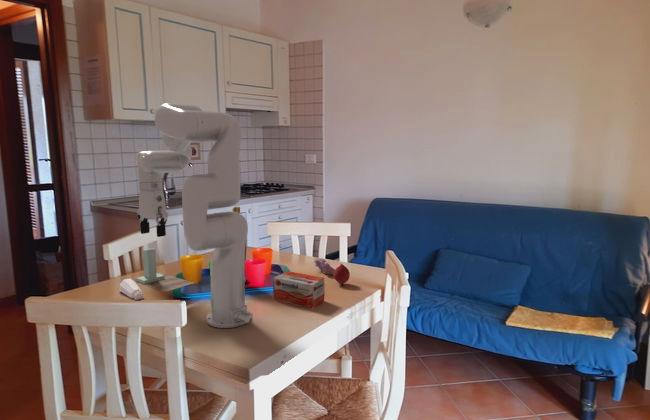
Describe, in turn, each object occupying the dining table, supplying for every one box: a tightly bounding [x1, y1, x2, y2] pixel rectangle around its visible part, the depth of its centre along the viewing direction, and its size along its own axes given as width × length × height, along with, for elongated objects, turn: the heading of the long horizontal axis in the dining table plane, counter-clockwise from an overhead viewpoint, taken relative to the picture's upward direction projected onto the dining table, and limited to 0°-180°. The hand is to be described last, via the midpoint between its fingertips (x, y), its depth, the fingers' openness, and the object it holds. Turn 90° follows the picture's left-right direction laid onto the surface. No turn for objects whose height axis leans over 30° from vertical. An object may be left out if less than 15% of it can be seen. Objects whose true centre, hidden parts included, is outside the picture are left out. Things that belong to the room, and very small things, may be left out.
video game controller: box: [314, 257, 336, 276], centre depth 176 cm, size 10×5×7 cm, turn 26°
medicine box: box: [272, 270, 326, 309], centre depth 146 cm, size 15×8×8 cm, turn 61°
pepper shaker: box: [118, 278, 144, 301], centre depth 146 cm, size 5×5×11 cm
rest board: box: [132, 272, 194, 293], centre depth 160 cm, size 20×12×1 cm, turn 54°
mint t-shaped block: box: [135, 247, 165, 285], centre depth 160 cm, size 5×8×11 cm, turn 143°
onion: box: [333, 263, 351, 286], centre depth 162 cm, size 6×6×8 cm
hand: (153, 234), depth 159 cm, fingers open, 9 cm apart
